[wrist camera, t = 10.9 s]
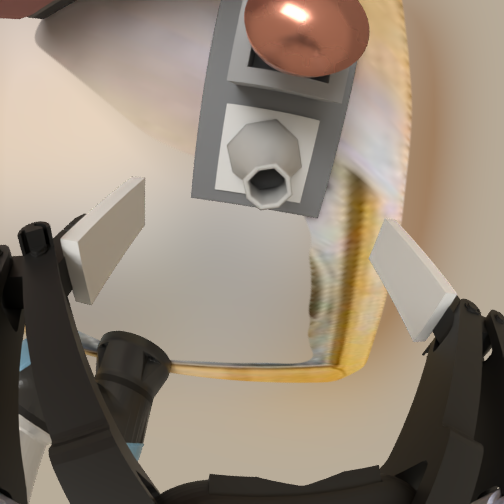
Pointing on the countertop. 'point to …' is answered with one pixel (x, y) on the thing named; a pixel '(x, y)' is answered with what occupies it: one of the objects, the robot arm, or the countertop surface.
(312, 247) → the countertop surface
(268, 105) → the press
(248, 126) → the flask
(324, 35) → the copper ovoid
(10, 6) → the toaster
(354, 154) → the countertop surface
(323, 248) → the countertop surface
